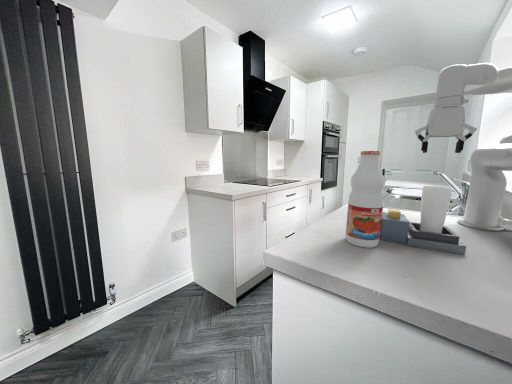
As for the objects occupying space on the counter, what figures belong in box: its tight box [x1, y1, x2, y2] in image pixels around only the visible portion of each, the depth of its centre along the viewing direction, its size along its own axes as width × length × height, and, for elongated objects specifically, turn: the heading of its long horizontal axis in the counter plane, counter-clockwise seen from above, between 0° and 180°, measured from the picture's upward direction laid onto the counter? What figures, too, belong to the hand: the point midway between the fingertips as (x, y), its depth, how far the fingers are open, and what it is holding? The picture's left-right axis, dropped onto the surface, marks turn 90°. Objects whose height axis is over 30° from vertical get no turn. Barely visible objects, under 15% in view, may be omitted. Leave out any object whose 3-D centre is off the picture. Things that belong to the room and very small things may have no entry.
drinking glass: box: [419, 185, 453, 234], centre depth 65 cm, size 7×7×15 cm
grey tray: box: [379, 208, 467, 256], centre depth 68 cm, size 22×13×9 cm, turn 64°
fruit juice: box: [345, 150, 386, 249], centre depth 64 cm, size 9×9×28 cm
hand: (440, 152), depth 79 cm, fingers open, 9 cm apart
